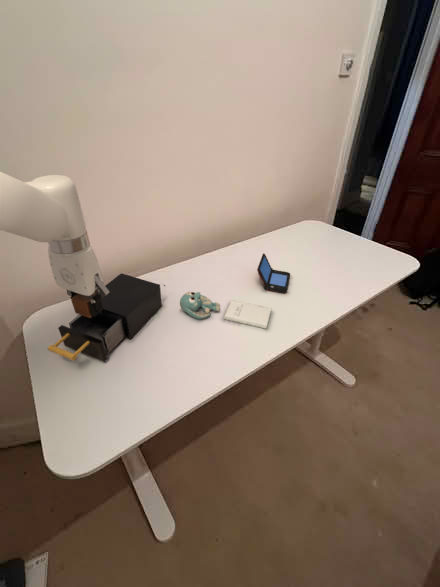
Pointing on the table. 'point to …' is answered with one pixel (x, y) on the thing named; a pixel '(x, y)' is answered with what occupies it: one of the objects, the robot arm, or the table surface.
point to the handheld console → (272, 277)
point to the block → (82, 304)
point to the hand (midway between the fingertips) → (88, 309)
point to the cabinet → (132, 301)
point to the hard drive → (248, 314)
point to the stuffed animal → (197, 305)
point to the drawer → (91, 335)
